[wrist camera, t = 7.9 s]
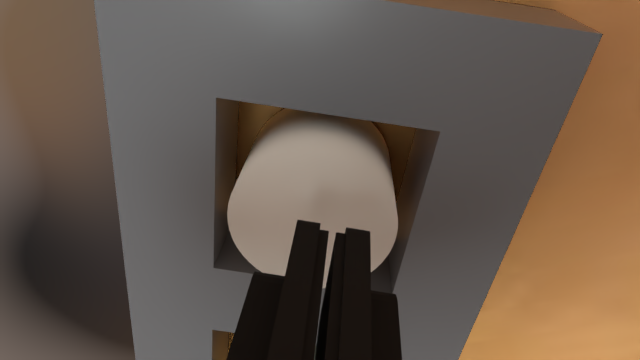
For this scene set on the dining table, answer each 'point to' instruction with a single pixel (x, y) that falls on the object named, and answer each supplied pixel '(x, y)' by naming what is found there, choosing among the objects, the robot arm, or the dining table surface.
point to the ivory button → (312, 187)
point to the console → (339, 100)
